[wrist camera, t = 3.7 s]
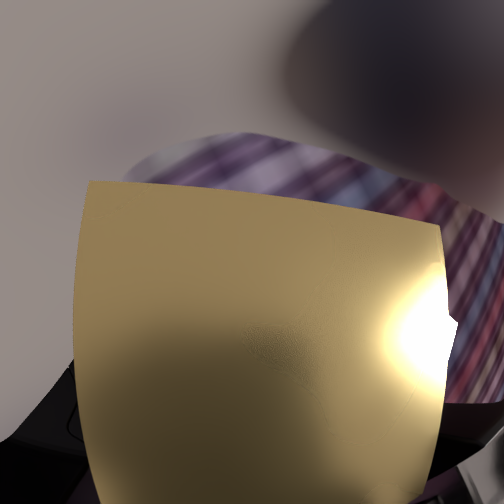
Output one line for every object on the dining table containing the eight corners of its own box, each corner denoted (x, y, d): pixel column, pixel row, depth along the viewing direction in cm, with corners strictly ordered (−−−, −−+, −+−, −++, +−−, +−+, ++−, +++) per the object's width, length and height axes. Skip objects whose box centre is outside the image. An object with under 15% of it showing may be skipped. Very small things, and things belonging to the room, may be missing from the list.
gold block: (235, 373, 15) (423, 494, 3) (151, 373, 13) (125, 567, 1) (234, 292, 16) (440, 222, 4) (151, 289, 14) (85, 175, 2)
